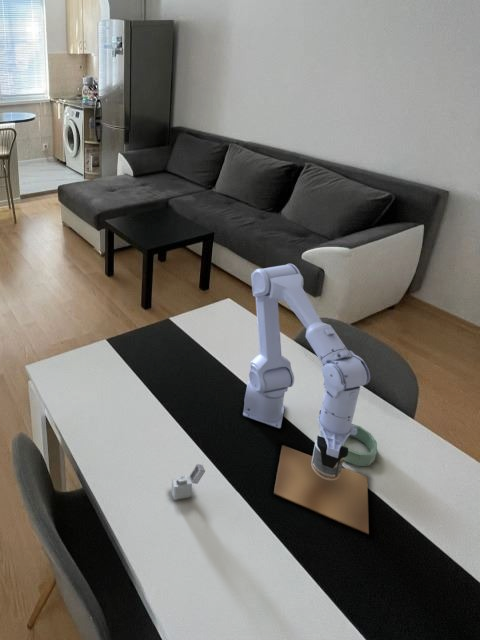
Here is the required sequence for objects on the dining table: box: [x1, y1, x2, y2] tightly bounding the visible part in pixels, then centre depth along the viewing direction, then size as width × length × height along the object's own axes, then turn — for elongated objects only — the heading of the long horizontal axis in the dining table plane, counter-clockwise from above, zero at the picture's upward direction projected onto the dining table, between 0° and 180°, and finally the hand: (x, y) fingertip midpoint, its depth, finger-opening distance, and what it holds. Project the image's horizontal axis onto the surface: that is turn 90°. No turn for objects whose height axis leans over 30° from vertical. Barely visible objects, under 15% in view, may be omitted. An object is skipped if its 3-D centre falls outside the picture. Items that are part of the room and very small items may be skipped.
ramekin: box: [343, 423, 378, 467], centre depth 105 cm, size 9×9×4 cm
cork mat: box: [273, 444, 370, 535], centre depth 97 cm, size 18×14×1 cm
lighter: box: [171, 463, 206, 501], centre depth 96 cm, size 7×2×8 cm, turn 99°
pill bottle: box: [312, 430, 345, 480], centre depth 94 cm, size 6×6×10 cm
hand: (328, 454), depth 94 cm, fingers closed on pill bottle, 6 cm apart
